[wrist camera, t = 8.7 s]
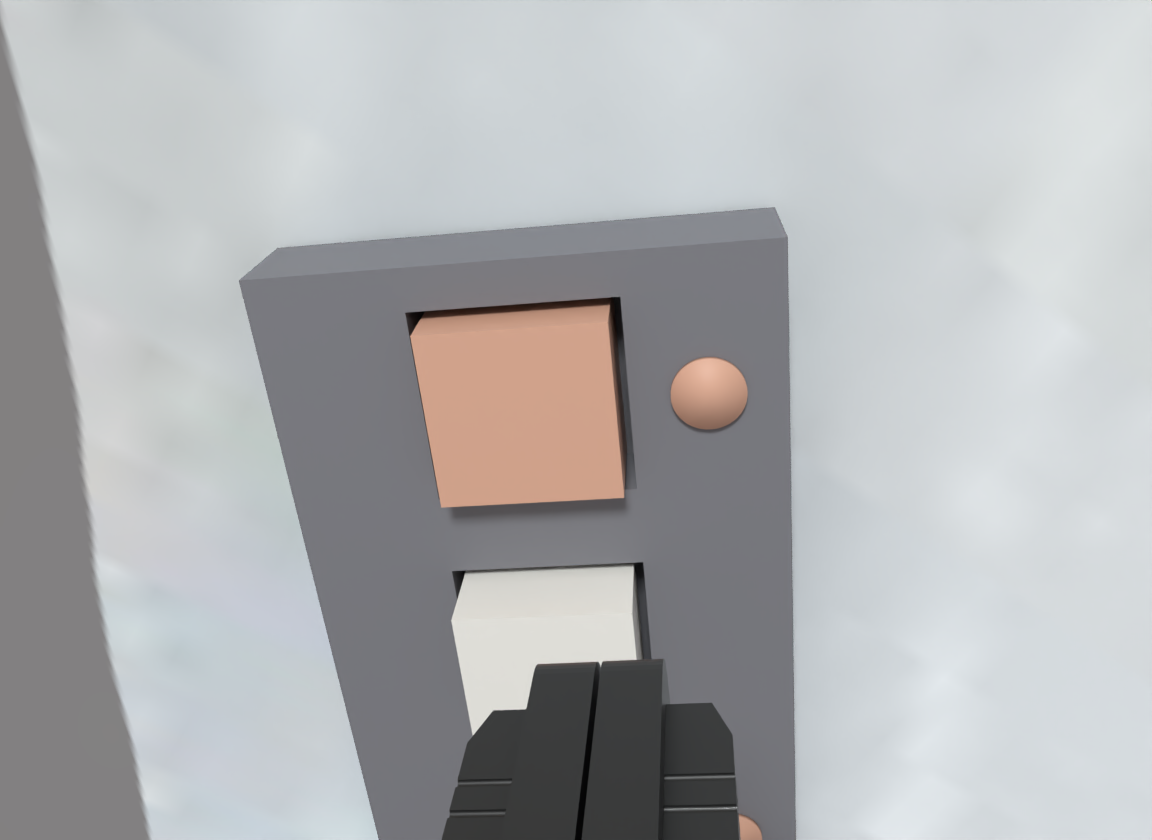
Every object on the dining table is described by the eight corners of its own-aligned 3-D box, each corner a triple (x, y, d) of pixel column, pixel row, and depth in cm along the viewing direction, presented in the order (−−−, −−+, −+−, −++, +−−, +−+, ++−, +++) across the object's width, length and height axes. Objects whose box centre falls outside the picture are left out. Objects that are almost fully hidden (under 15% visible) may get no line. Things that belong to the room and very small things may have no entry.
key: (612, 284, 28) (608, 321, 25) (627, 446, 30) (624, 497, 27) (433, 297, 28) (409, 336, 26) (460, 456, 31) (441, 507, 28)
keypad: (774, 207, 28) (788, 239, 25) (786, 848, 38) (797, 924, 35) (277, 248, 29) (236, 282, 26) (417, 854, 39) (398, 927, 36)
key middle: (634, 552, 30) (632, 612, 28) (646, 685, 33) (645, 753, 30) (469, 560, 31) (451, 620, 28) (491, 690, 33) (476, 758, 30)
